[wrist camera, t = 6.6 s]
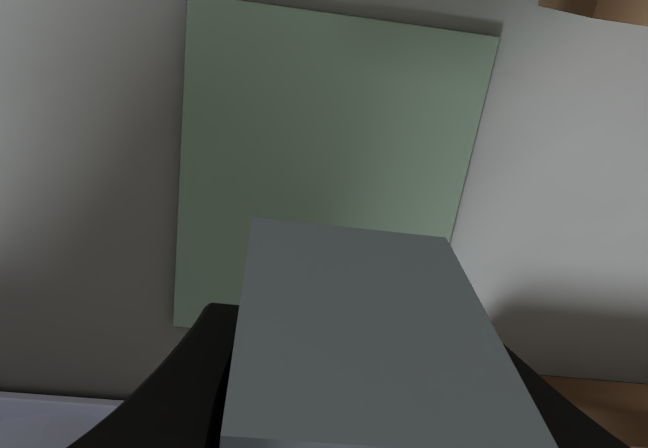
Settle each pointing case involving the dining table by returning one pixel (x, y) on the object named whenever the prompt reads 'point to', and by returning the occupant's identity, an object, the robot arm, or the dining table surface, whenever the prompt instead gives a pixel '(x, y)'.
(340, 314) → the slate block
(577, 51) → the dining table surface
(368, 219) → the green mat
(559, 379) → the walnut stall
